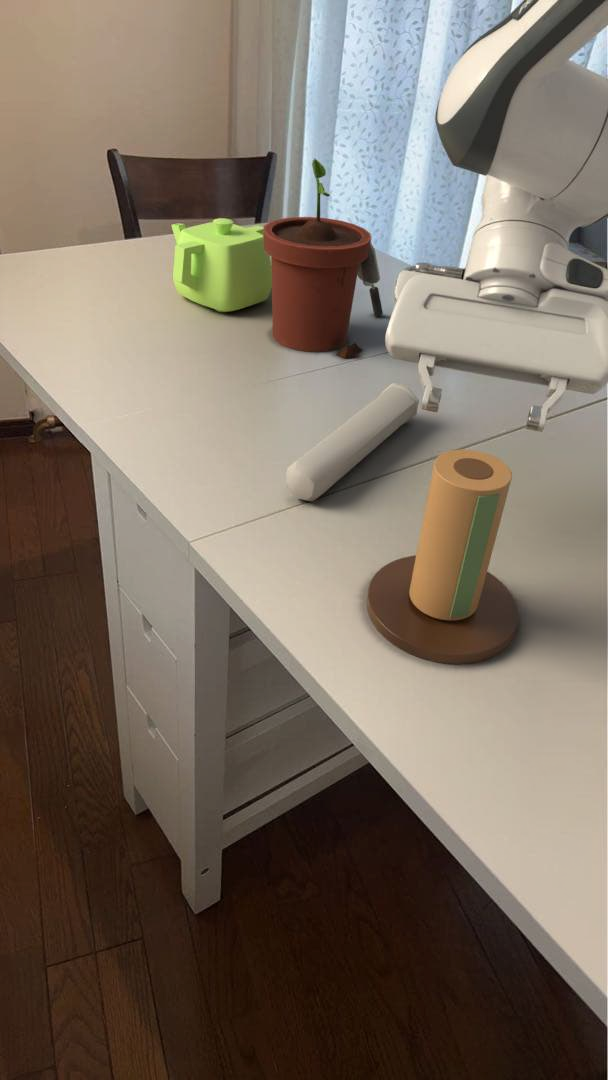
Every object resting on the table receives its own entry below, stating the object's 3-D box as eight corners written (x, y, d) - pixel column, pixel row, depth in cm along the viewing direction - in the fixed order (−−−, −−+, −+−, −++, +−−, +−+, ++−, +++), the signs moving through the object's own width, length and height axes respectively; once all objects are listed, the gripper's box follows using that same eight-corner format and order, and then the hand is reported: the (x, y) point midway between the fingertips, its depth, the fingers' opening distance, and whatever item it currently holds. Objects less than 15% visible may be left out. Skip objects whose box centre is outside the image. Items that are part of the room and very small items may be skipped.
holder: (530, 592, 78) (534, 580, 77) (494, 686, 68) (498, 673, 67) (396, 548, 82) (398, 536, 81) (343, 629, 72) (344, 617, 71)
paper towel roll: (452, 569, 78) (481, 443, 69) (493, 612, 73) (530, 482, 64) (396, 584, 75) (419, 455, 67) (434, 629, 70) (464, 497, 62)
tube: (324, 485, 84) (425, 398, 101) (285, 455, 85) (391, 374, 102) (307, 518, 87) (407, 429, 105) (269, 490, 88) (375, 406, 106)
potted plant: (253, 313, 131) (258, 147, 116) (381, 314, 135) (402, 153, 120) (265, 358, 117) (272, 176, 102) (407, 358, 121) (434, 182, 106)
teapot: (133, 294, 134) (128, 213, 126) (218, 270, 147) (218, 195, 139) (209, 327, 125) (209, 242, 117) (293, 298, 138) (298, 220, 130)
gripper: (401, 241, 72) (366, 385, 70) (635, 277, 68) (604, 429, 67) (402, 276, 78) (370, 408, 76) (617, 310, 75) (588, 450, 73)
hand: (481, 419), depth 71 cm, fingers open, 8 cm apart
